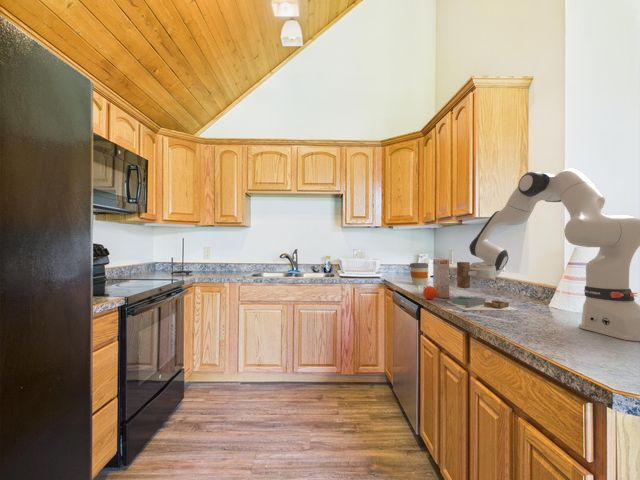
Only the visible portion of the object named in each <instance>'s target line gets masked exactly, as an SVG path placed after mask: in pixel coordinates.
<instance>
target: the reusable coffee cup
mask: <svg viewBox="0 0 640 480" xmlns="http://www.w3.org/2000/svg"><path fill="white" fill-rule="evenodd" d="M409 268H410V277H411V281H412V282H411V283H412V285H413V286H426V285H427V280H428V279H427V278H428V274H429V271H428V268H429V263H426V262H411V263H410V264H409Z"/></svg>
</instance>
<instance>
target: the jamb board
mask: <svg viewBox="0 0 640 480" xmlns="http://www.w3.org/2000/svg"><path fill="white" fill-rule="evenodd" d="M446 302H447V303H449V304H451V305H453V306H456V307H457V308H459V309H461V310H462V312H463V313H468V311H495V310H496V311H503V310H504V311H506V310H507V311H515V310H516V311H518V310H519V309H517V308H514V307H512V306H509V307H506V308H502V309H497V308H491V307H485V306H484V302H491V303H492V300H486V298H476V300H471V301H466V302H465V305H459V304H453V303H452V300H450V301H449V300H448V301H446Z"/></svg>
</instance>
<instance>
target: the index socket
mask: <svg viewBox="0 0 640 480" xmlns="http://www.w3.org/2000/svg"><path fill="white" fill-rule="evenodd" d="M471 300H477V298H473V297H468V296H456V297H452V298H451V301H452V303H453V304H459V305H465V302H466V301H471ZM453 304H452V305H453Z"/></svg>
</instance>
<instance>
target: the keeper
mask: <svg viewBox="0 0 640 480" xmlns="http://www.w3.org/2000/svg"><path fill="white" fill-rule="evenodd" d="M491 301H492V303H491V302H484V306H485V307H491V308H497V309H502V308H506V307H510V306H509V304H510V303H509V302H508V301H501V300H491Z"/></svg>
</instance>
